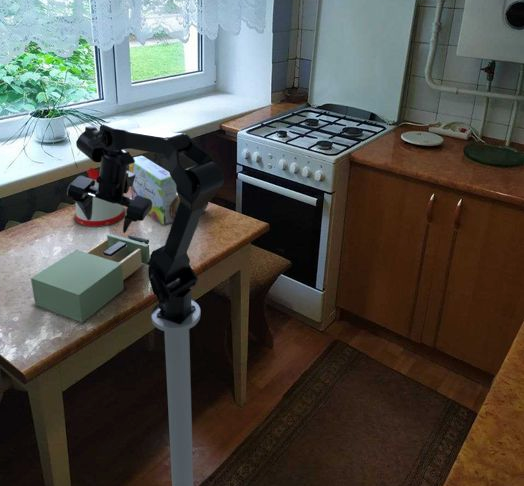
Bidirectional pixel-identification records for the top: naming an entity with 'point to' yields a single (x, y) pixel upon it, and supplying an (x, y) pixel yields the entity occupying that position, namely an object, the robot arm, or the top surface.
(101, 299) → the cabinet
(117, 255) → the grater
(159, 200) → the snack box
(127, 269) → the drawer
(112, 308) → the top surface
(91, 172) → the kitchen timer
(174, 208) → the tin
